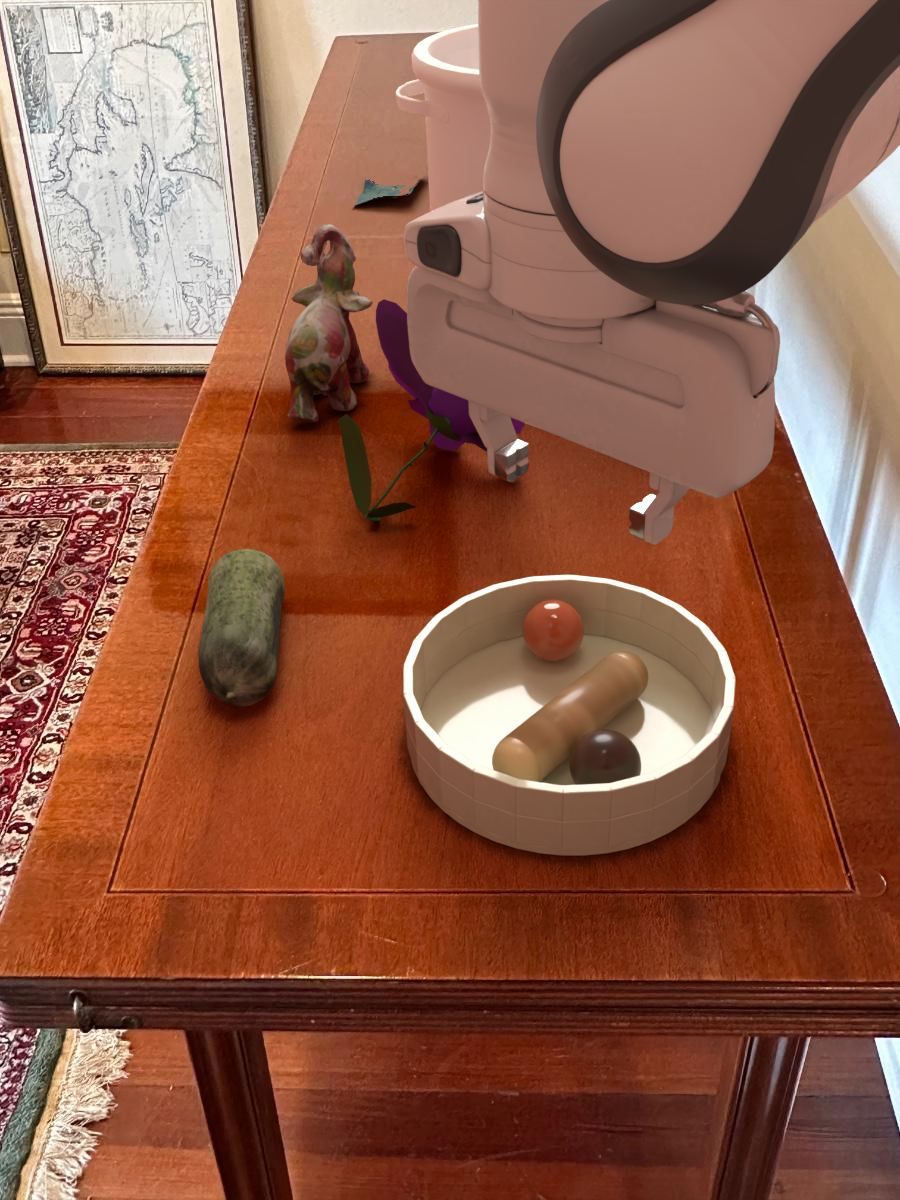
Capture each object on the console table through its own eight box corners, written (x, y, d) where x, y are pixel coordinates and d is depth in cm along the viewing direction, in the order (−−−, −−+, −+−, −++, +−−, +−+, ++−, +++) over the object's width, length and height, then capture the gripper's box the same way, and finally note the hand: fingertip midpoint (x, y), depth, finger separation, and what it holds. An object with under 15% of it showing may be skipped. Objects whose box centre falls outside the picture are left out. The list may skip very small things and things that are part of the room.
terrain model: (412, 208, 147) (411, 192, 146) (351, 209, 149) (349, 194, 148) (432, 175, 157) (431, 160, 156) (375, 176, 159) (373, 162, 158)
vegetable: (216, 595, 85) (205, 537, 82) (289, 590, 85) (281, 532, 82) (196, 729, 74) (183, 668, 71) (280, 723, 74) (270, 662, 71)
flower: (466, 600, 92) (567, 468, 95) (389, 491, 80) (507, 344, 83) (340, 530, 100) (436, 411, 103) (253, 422, 88) (364, 291, 91)
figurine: (398, 383, 110) (386, 223, 101) (317, 438, 103) (296, 271, 94) (333, 364, 114) (316, 208, 105) (250, 416, 106) (224, 253, 97)
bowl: (733, 653, 78) (741, 592, 75) (716, 881, 63) (726, 817, 60) (448, 620, 82) (445, 560, 79) (370, 827, 67) (363, 764, 64)
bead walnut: (587, 803, 69) (654, 798, 67) (561, 804, 66) (630, 799, 64) (581, 734, 70) (647, 727, 68) (555, 731, 66) (623, 724, 65)
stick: (609, 644, 75) (644, 639, 73) (630, 688, 76) (666, 684, 73) (472, 752, 68) (506, 751, 65) (496, 800, 69) (531, 800, 66)
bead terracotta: (605, 634, 77) (570, 583, 78) (583, 643, 74) (547, 590, 74) (558, 667, 79) (525, 617, 80) (535, 678, 75) (500, 625, 76)
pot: (398, 355, 115) (379, 79, 100) (418, 266, 133) (404, 20, 118) (666, 353, 113) (688, 72, 98) (650, 263, 131) (666, 13, 116)
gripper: (823, 278, 50) (783, 548, 58) (466, 186, 62) (475, 422, 70) (741, 328, 47) (711, 609, 55) (378, 221, 58) (399, 466, 67)
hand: (576, 503), depth 63 cm, fingers open, 8 cm apart
